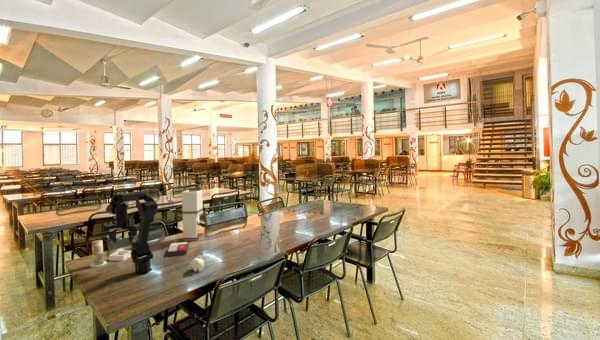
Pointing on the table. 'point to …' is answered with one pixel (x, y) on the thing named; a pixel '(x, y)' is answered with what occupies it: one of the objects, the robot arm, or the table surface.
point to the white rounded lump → (197, 263)
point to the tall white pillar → (191, 214)
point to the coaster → (98, 265)
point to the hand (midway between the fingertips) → (123, 242)
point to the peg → (97, 252)
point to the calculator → (177, 249)
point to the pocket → (120, 255)
